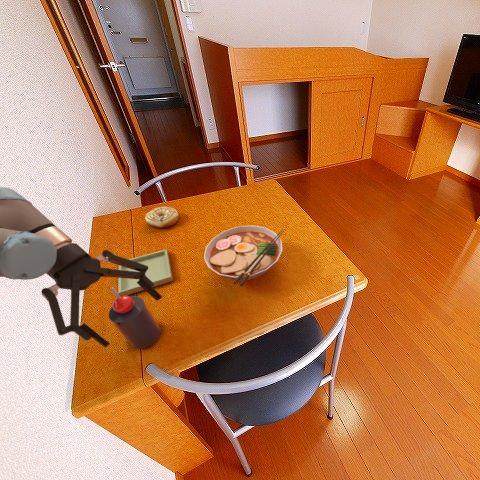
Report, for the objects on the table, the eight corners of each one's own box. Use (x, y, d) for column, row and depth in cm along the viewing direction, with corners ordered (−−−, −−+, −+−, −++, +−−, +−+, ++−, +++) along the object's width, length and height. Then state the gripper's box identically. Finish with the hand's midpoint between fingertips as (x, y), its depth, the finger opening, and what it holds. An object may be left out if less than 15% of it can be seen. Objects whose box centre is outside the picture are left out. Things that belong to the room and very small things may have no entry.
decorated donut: (163, 233, 97) (159, 224, 95) (141, 224, 100) (137, 216, 98) (185, 217, 104) (182, 209, 102) (164, 210, 108) (161, 202, 105)
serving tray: (121, 297, 76) (118, 292, 75) (121, 266, 84) (118, 262, 83) (172, 280, 81) (171, 276, 80) (168, 253, 90) (166, 249, 88)
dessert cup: (123, 347, 65) (83, 300, 53) (140, 322, 70) (106, 274, 58) (151, 350, 65) (117, 303, 53) (166, 324, 70) (137, 276, 58)
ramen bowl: (241, 233, 98) (237, 214, 93) (298, 252, 92) (297, 233, 87) (190, 281, 81) (181, 261, 76) (256, 308, 74) (252, 289, 69)
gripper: (109, 227, 69) (173, 286, 75) (-17, 300, 52) (78, 370, 57) (114, 215, 64) (182, 279, 70) (-23, 291, 47) (81, 369, 52)
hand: (135, 320), depth 63 cm, fingers open, 13 cm apart
